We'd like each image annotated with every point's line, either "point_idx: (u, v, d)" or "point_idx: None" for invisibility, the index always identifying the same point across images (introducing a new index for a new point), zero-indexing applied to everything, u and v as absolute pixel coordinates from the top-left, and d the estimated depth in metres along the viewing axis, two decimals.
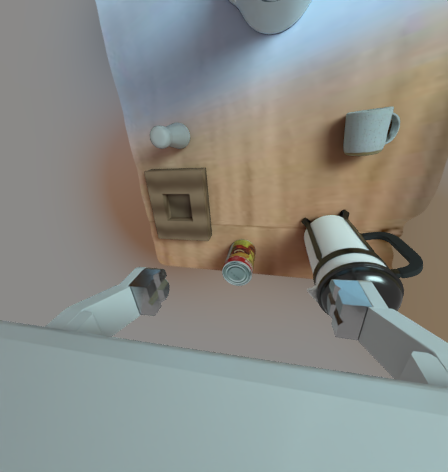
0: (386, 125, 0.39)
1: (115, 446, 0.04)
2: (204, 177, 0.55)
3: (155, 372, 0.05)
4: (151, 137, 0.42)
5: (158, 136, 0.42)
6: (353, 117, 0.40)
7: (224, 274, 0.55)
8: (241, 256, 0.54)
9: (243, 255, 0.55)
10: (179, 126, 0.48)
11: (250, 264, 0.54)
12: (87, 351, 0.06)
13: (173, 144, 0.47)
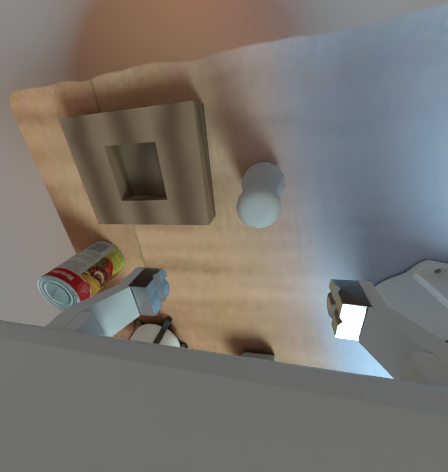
0: None
1: (116, 446, 0.04)
2: None
3: (155, 372, 0.05)
4: (258, 195, 0.19)
5: (259, 213, 0.20)
6: None
7: (46, 278, 0.33)
8: (90, 291, 0.36)
9: (93, 290, 0.37)
10: None
11: None
12: (87, 351, 0.06)
13: None
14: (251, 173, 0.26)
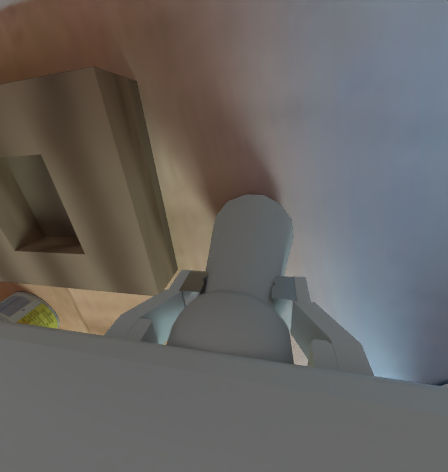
0: None
1: (115, 446, 0.04)
2: None
3: (155, 372, 0.05)
4: None
5: None
6: None
7: None
8: None
9: None
10: None
11: None
12: (87, 351, 0.06)
13: None
14: (225, 223, 0.12)
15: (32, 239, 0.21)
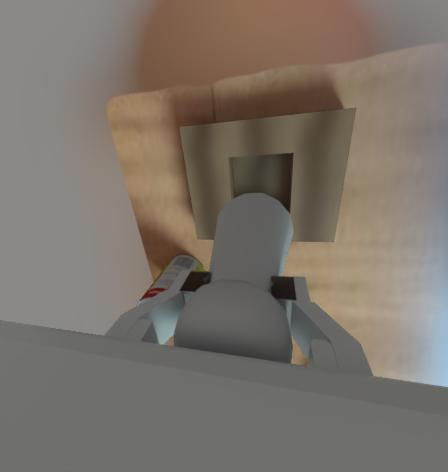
0: None
1: (115, 446, 0.04)
2: None
3: (155, 372, 0.05)
4: (222, 337, 0.06)
5: None
6: None
7: None
8: None
9: None
10: None
11: None
12: (87, 351, 0.06)
13: None
14: (226, 221, 0.13)
15: None
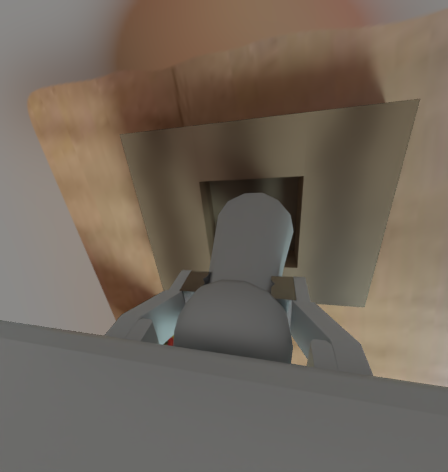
0: None
1: (116, 446, 0.04)
2: None
3: (155, 372, 0.05)
4: (222, 337, 0.06)
5: None
6: None
7: None
8: None
9: None
10: None
11: None
12: (87, 351, 0.06)
13: None
14: (226, 221, 0.13)
15: None
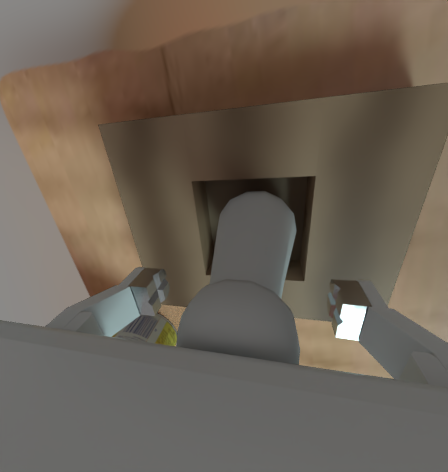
0: None
1: (116, 446, 0.04)
2: None
3: (155, 372, 0.05)
4: (227, 339, 0.06)
5: None
6: None
7: None
8: None
9: None
10: None
11: None
12: (87, 351, 0.06)
13: None
14: (228, 220, 0.13)
15: (210, 260, 0.19)
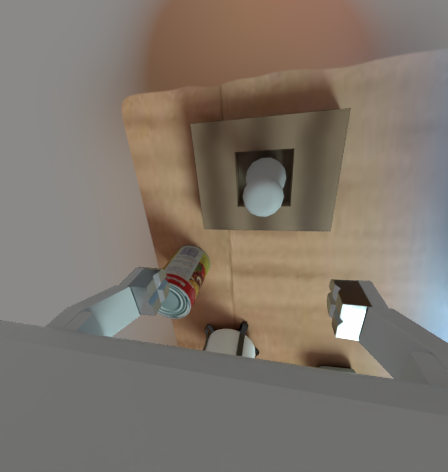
0: None
1: (116, 446, 0.04)
2: None
3: (155, 372, 0.05)
4: (262, 185, 0.21)
5: (264, 202, 0.21)
6: None
7: None
8: (195, 297, 0.36)
9: None
10: None
11: None
12: (87, 351, 0.06)
13: None
14: (254, 168, 0.27)
15: (239, 201, 0.34)
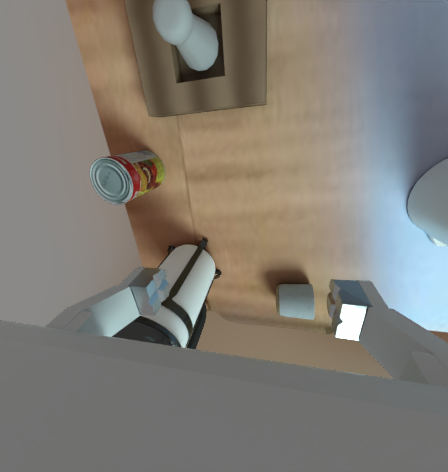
0: (299, 317, 0.46)
1: (116, 446, 0.04)
2: (252, 105, 0.34)
3: (155, 372, 0.05)
4: None
5: (169, 14, 0.22)
6: (310, 297, 0.44)
7: (101, 161, 0.34)
8: (140, 183, 0.36)
9: (142, 185, 0.37)
10: (209, 51, 0.29)
11: (133, 198, 0.37)
12: (87, 351, 0.06)
13: None
14: None
15: (180, 83, 0.35)
